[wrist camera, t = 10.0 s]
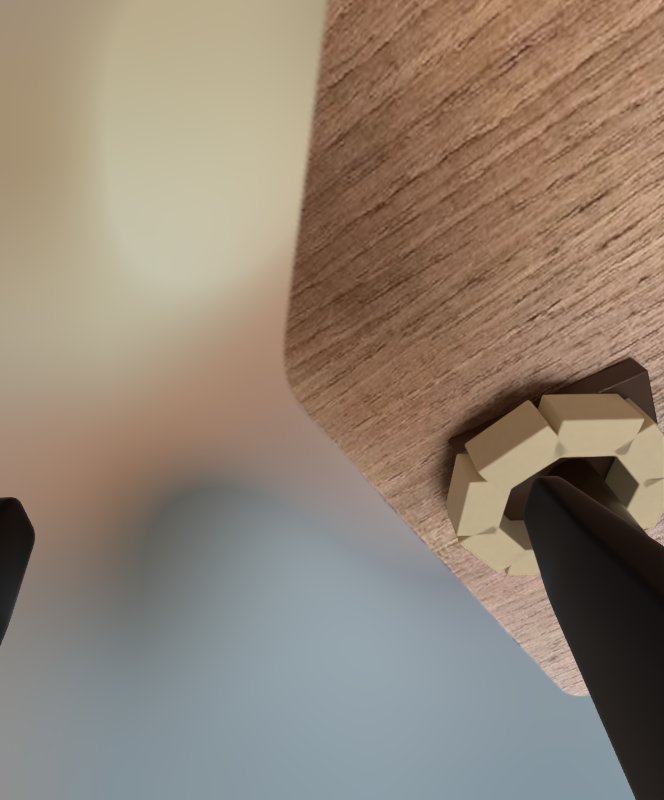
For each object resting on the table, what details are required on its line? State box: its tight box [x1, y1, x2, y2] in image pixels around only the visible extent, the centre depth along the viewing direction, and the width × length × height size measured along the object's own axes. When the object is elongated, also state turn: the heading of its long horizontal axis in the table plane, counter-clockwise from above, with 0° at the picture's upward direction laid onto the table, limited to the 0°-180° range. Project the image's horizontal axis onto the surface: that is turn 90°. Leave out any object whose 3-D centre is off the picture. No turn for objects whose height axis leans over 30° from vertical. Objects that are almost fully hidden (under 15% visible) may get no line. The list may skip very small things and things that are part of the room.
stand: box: [449, 358, 658, 535], centre depth 22 cm, size 9×9×6 cm
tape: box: [446, 394, 664, 576], centre depth 23 cm, size 10×10×2 cm
